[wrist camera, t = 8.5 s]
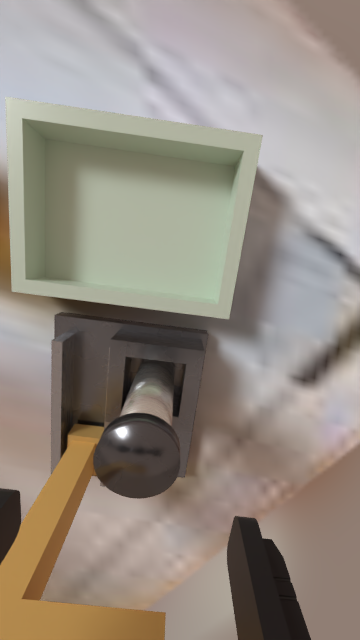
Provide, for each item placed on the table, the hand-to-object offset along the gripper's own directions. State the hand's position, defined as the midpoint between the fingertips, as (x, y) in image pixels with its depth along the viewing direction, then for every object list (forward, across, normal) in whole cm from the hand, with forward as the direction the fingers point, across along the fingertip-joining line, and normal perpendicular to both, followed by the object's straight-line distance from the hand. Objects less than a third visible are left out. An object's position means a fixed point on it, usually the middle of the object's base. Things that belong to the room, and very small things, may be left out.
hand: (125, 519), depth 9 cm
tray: (+14, +3, -12) cm, 19 cm away
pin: (+13, 0, 0) cm, 13 cm away
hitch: (+14, +3, +4) cm, 15 cm away
